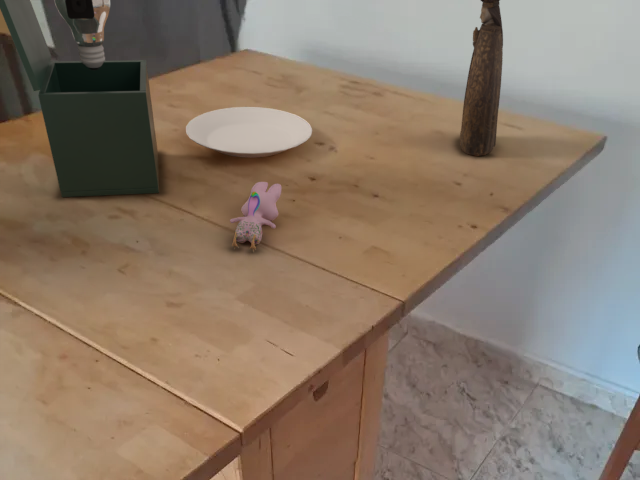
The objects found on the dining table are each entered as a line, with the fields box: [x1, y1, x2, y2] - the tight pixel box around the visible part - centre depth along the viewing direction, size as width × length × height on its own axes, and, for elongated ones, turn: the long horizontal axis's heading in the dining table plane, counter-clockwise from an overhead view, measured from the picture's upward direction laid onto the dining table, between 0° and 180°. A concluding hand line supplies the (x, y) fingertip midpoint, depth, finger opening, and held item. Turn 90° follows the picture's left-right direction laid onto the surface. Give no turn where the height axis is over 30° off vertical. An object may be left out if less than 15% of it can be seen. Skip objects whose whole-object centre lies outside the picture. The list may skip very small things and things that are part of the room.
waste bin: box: [38, 59, 160, 198], centre depth 99 cm, size 14×15×14 cm
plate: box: [185, 106, 313, 159], centre depth 114 cm, size 21×21×2 cm
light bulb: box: [53, 0, 111, 70], centre depth 90 cm, size 7×7×12 cm
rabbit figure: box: [229, 181, 283, 253], centre depth 91 cm, size 6×6×15 cm
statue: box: [459, 0, 504, 157], centre depth 109 cm, size 9×8×25 cm
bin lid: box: [0, 0, 52, 92], centre depth 88 cm, size 14×15×5 cm
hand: (83, 9), depth 89 cm, fingers closed on light bulb, 7 cm apart
